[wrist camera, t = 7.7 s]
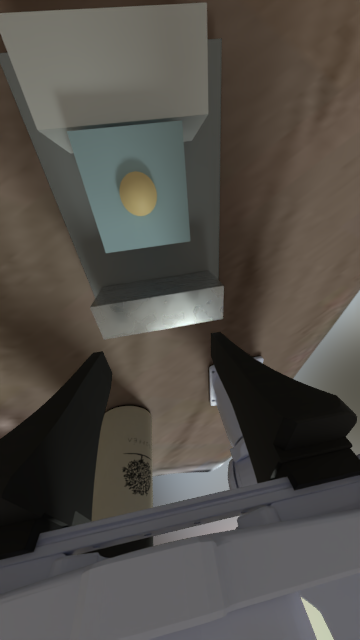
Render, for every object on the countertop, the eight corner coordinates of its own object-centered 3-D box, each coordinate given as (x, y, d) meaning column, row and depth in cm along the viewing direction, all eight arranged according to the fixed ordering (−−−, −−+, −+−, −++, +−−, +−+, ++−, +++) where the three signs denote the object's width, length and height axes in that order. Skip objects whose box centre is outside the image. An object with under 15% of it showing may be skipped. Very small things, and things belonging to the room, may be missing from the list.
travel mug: (122, 436, 32) (99, 639, 17) (90, 417, 28) (20, 667, 13) (160, 418, 31) (171, 620, 16) (132, 396, 27) (110, 643, 11)
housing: (178, 232, 15) (191, 242, 10) (118, 240, 14) (104, 254, 10) (170, 151, 12) (183, 116, 8) (96, 159, 12) (63, 127, 7)
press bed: (215, 309, 20) (232, 334, 16) (110, 326, 20) (100, 358, 16) (215, 51, 11) (258, -49, 7) (9, 66, 10) (-94, -38, 6)
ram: (209, 298, 18) (222, 318, 15) (112, 315, 18) (104, 339, 14) (208, 270, 17) (223, 285, 13) (102, 286, 16) (89, 307, 13)
